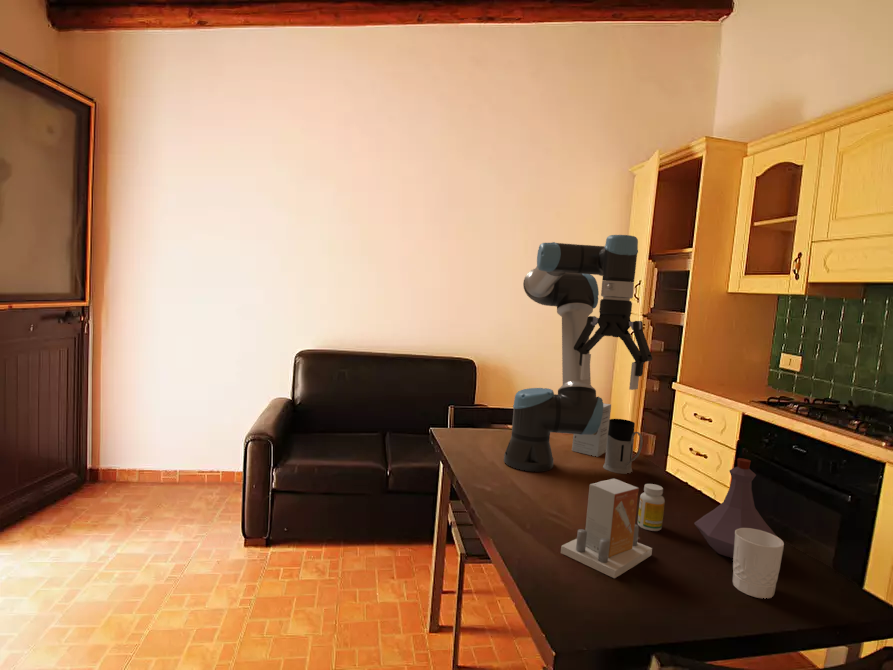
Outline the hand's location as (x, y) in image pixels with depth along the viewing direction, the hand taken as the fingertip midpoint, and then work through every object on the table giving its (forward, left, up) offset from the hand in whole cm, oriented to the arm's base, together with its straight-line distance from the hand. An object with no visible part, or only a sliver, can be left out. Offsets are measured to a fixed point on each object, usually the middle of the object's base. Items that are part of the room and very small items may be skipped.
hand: (608, 384), depth 133 cm
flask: (+32, +3, -31) cm, 44 cm away
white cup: (+40, -11, -31) cm, 52 cm away
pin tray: (+16, -22, -31) cm, 41 cm away
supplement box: (-27, +41, -31) cm, 58 cm away
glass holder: (-9, +31, -31) cm, 45 cm away
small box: (+16, -22, -30) cm, 40 cm away
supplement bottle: (+15, -1, -31) cm, 35 cm away
